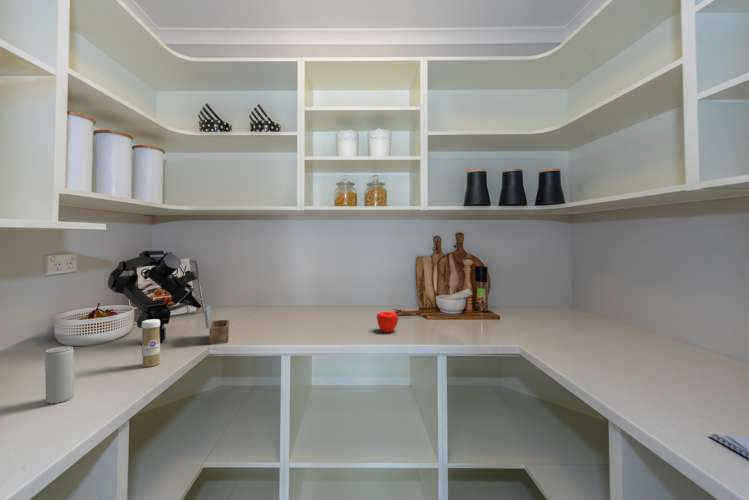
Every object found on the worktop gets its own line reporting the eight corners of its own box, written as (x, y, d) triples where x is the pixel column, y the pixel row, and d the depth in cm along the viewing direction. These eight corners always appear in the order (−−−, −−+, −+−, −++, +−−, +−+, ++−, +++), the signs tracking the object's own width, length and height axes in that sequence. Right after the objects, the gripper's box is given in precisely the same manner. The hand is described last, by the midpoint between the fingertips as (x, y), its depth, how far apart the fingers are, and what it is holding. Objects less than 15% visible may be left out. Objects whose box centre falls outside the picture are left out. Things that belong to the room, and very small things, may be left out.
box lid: (208, 327, 116) (206, 328, 116) (211, 320, 128) (209, 320, 128) (206, 310, 116) (204, 310, 116) (209, 304, 128) (207, 304, 127)
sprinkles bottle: (146, 368, 94) (146, 322, 94) (139, 365, 97) (138, 321, 96) (163, 363, 98) (163, 319, 98) (155, 360, 101) (155, 317, 100)
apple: (399, 329, 139) (399, 311, 139) (395, 334, 131) (396, 315, 131) (379, 327, 141) (379, 309, 141) (374, 333, 133) (374, 314, 133)
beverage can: (80, 394, 78) (79, 345, 78) (61, 404, 73) (60, 352, 73) (59, 395, 78) (58, 345, 78) (39, 405, 73) (38, 352, 73)
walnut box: (209, 344, 117) (209, 328, 117) (212, 335, 128) (212, 320, 128) (227, 342, 119) (227, 326, 119) (229, 334, 130) (228, 319, 130)
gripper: (181, 264, 112) (217, 294, 117) (185, 262, 129) (216, 288, 134) (155, 288, 109) (193, 318, 114) (162, 283, 125) (195, 309, 130)
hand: (200, 307), depth 123 cm, fingers closed
